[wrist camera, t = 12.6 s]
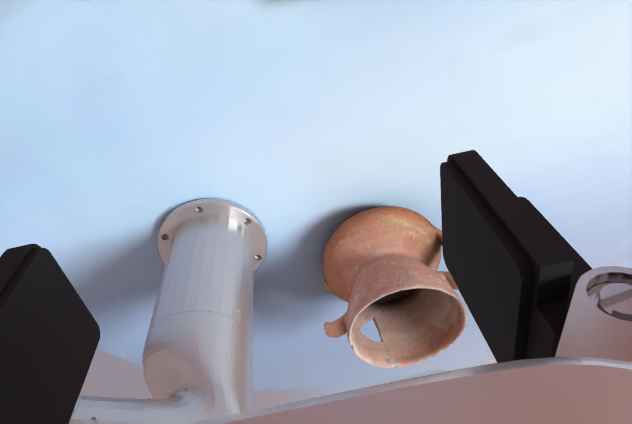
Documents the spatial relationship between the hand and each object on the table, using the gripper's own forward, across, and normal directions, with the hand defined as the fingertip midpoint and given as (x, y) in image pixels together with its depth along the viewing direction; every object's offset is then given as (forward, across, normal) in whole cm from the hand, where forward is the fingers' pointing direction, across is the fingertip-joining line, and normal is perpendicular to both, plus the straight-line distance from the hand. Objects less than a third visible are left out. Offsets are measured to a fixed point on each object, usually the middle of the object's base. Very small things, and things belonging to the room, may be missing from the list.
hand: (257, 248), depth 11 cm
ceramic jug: (+36, -8, +30) cm, 48 cm away
